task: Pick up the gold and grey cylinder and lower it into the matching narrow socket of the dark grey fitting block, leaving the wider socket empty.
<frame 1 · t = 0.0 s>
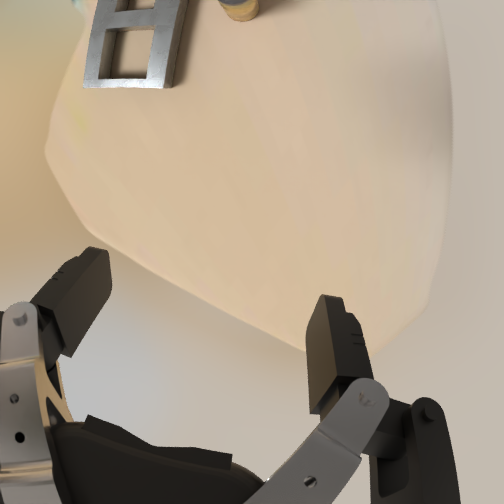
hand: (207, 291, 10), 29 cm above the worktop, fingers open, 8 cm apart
grey fitting block: (140, 25, 27), on the worktop
gold and grey cylinder: (242, 8, 26), on the worktop
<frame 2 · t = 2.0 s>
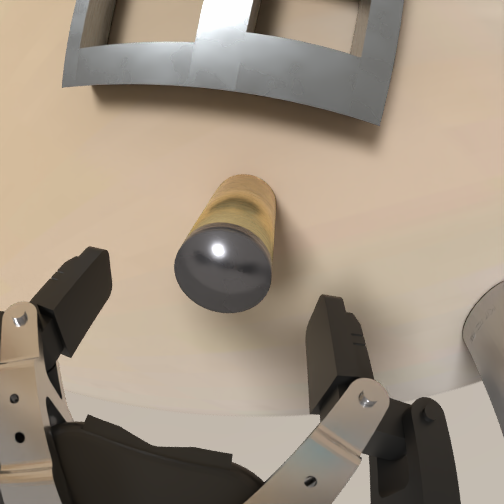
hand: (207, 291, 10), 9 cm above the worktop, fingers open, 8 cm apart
grey fitting block: (231, 0, 12), on the worktop
gold and grey cylinder: (244, 204, 19), on the worktop
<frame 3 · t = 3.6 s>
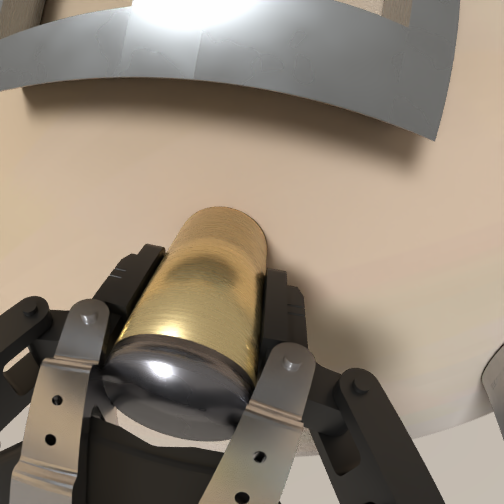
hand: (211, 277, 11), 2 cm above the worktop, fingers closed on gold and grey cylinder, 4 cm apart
gold and grey cylinder: (221, 248, 13), on the worktop, touching gripper
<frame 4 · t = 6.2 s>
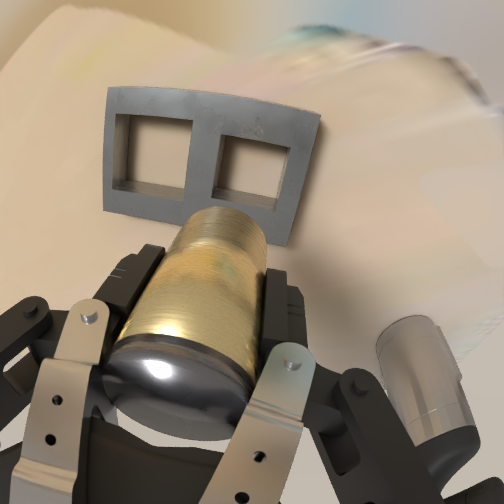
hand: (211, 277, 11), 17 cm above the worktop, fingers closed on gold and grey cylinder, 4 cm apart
grey fitting block: (203, 155, 26), on the worktop
gold and grey cylinder: (221, 248, 13), point 15 cm above the worktop, touching gripper
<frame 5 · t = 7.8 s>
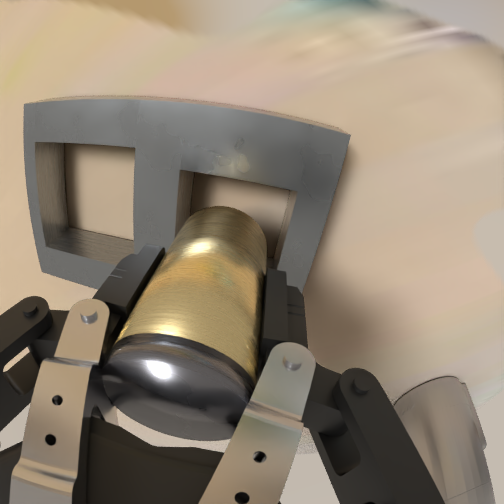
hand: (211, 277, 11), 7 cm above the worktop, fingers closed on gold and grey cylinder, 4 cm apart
grey fitting block: (164, 196, 17), on the worktop
gold and grey cylinder: (222, 247, 13), point 5 cm above the worktop, touching gripper
when the fingers open (4 cm above the worktop, at t = 9.1 s): gold and grey cylinder drops 2 cm, resting in grey fitting block.
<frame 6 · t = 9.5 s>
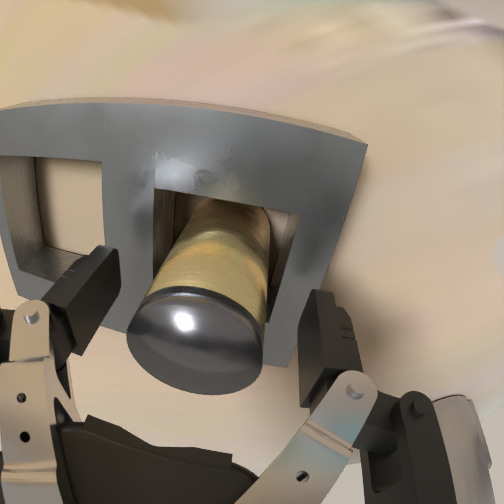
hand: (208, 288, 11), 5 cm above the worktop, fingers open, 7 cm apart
grey fitting block: (143, 214, 15), on the worktop
gold and grey cylinder: (230, 230, 15), resting in grey fitting block
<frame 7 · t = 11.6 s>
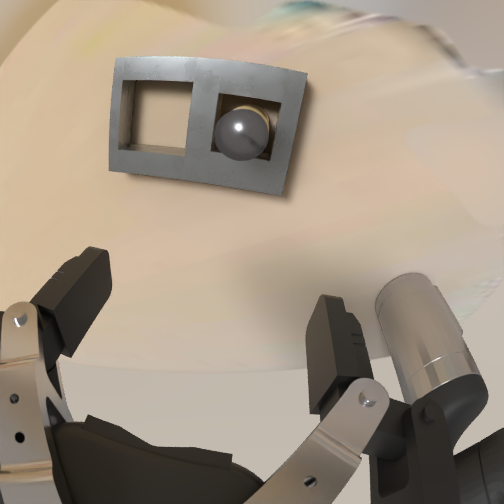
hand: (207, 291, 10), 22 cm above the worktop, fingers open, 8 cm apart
grey fitting block: (203, 117, 27), on the worktop
gold and grey cylinder: (248, 123, 27), resting in grey fitting block
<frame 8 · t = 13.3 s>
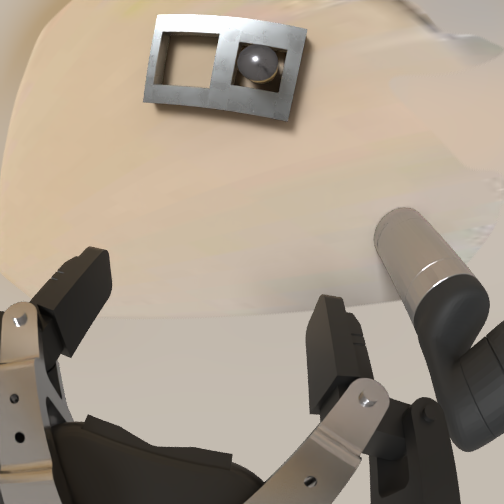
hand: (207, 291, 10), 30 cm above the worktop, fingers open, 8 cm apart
grey fitting block: (224, 63, 31), on the worktop
gold and grey cylinder: (261, 68, 31), resting in grey fitting block
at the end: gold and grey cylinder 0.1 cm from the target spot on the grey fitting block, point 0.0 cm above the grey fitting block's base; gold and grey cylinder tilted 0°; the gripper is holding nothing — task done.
